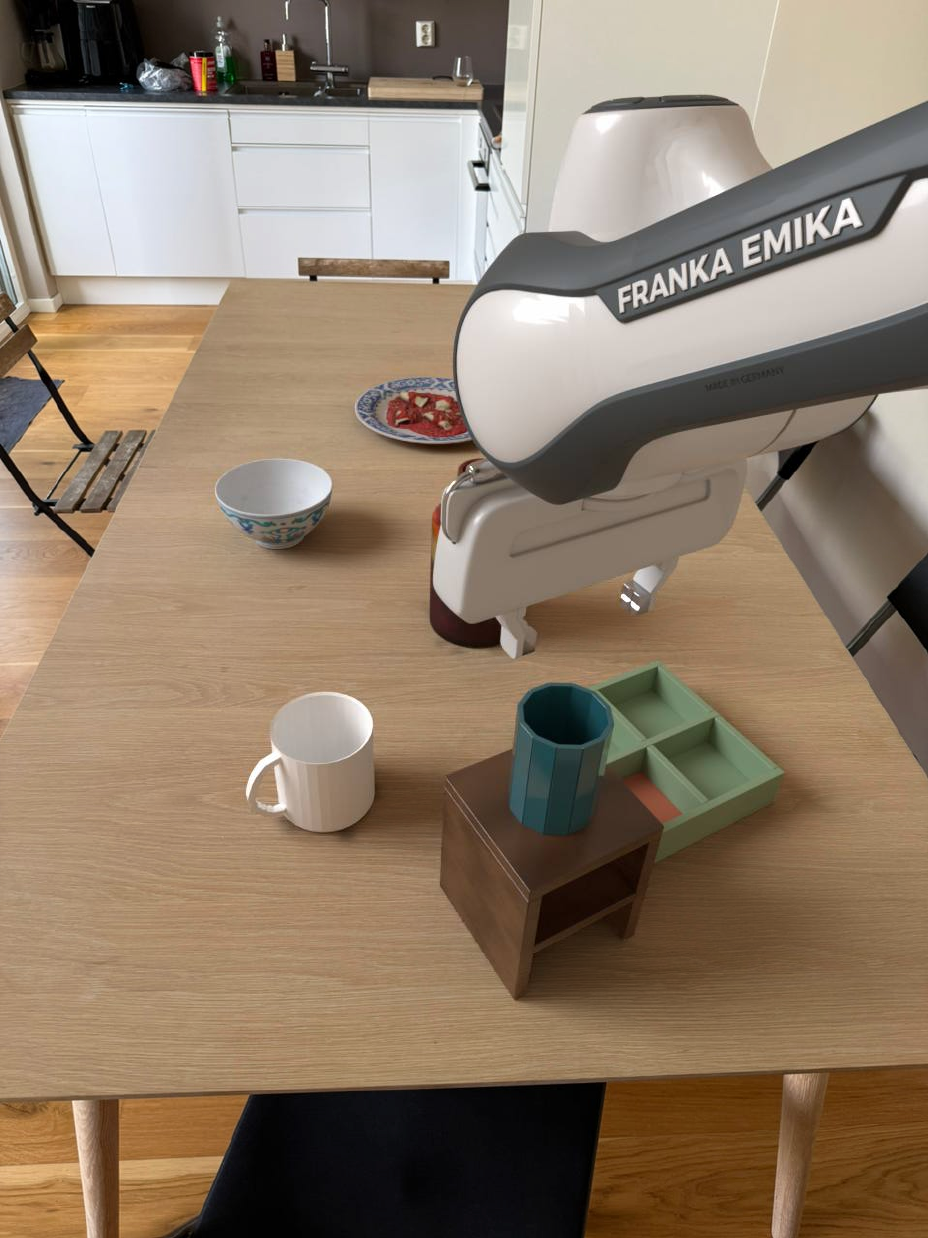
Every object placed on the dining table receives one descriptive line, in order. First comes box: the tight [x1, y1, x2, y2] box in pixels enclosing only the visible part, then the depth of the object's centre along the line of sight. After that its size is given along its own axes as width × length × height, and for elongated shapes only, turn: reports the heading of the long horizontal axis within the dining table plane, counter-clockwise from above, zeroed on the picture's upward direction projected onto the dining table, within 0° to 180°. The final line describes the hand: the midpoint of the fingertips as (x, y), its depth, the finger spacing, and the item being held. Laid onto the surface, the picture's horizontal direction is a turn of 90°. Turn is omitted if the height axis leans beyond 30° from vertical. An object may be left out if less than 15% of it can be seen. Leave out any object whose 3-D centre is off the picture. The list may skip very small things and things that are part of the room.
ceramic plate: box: [354, 376, 473, 445], centre depth 150 cm, size 26×26×3 cm
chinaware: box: [214, 458, 334, 550], centre depth 118 cm, size 15×15×8 cm
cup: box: [508, 681, 614, 835], centre depth 64 cm, size 7×7×9 cm
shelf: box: [439, 747, 664, 1000], centre depth 71 cm, size 12×12×14 cm
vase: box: [429, 457, 502, 649], centre depth 101 cm, size 11×11×20 cm
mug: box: [245, 691, 376, 834], centre depth 81 cm, size 12×9×9 cm
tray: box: [512, 660, 786, 864], centre depth 87 cm, size 18×18×4 cm
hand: (578, 629), depth 57 cm, fingers open, 8 cm apart
